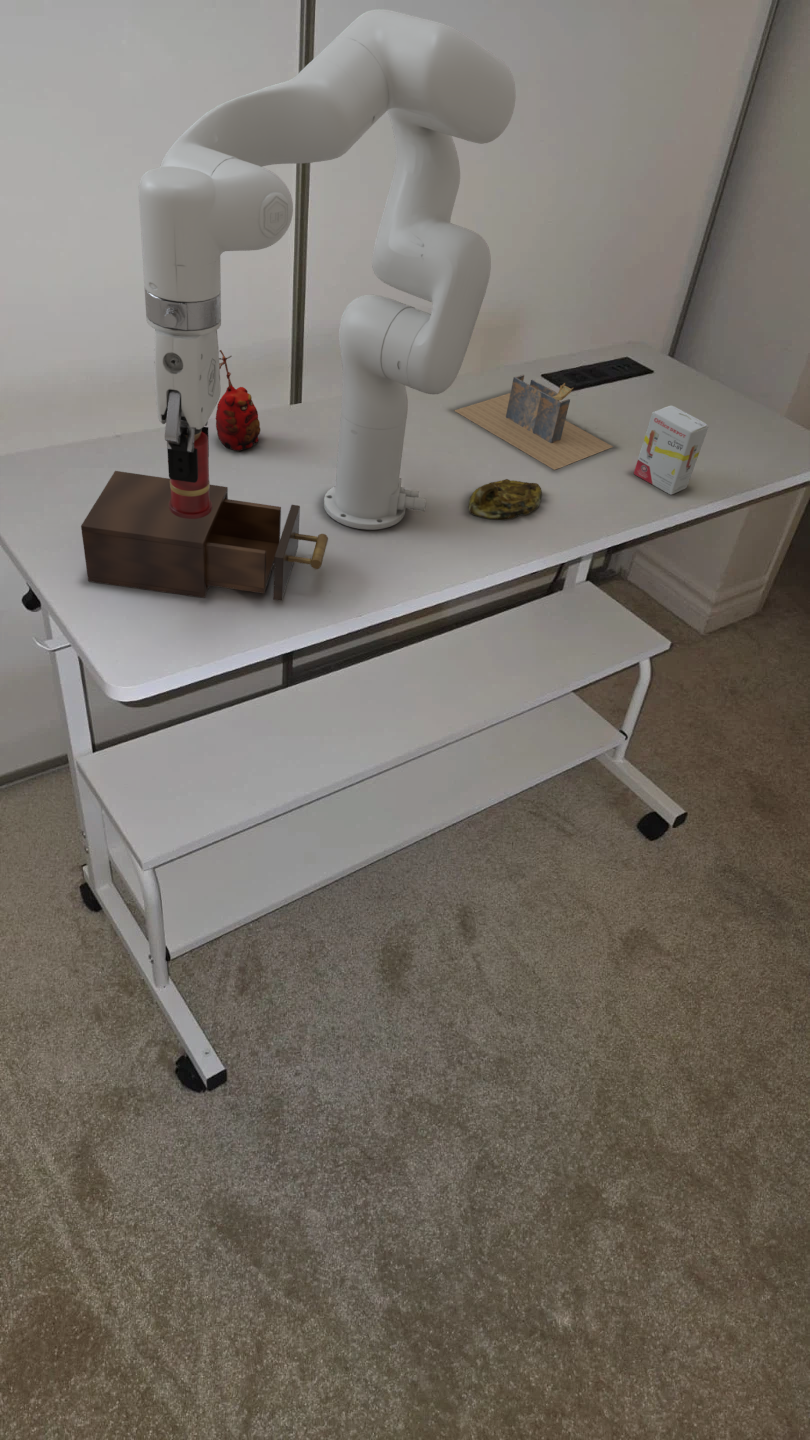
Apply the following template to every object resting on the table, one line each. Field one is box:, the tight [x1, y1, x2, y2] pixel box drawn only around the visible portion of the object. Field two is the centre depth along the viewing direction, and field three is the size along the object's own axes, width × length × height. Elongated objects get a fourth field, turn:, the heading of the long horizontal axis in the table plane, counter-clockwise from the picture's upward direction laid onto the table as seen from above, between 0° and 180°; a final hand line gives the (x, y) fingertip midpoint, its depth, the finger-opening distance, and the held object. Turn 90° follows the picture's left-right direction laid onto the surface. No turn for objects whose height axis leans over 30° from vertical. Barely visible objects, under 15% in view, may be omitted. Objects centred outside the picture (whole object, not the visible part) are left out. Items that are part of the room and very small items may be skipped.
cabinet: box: [80, 470, 229, 599], centre depth 130 cm, size 16×14×9 cm
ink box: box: [633, 405, 709, 496], centre depth 163 cm, size 9×5×12 cm, turn 41°
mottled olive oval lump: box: [468, 478, 543, 521], centre depth 154 cm, size 9×5×15 cm
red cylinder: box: [169, 416, 212, 519], centre depth 110 cm, size 5×5×12 cm
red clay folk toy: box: [215, 349, 261, 452], centre depth 154 cm, size 8×7×15 cm
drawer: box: [205, 498, 329, 602], centre depth 130 cm, size 19×13×7 cm
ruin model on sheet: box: [453, 374, 614, 471], centre depth 172 cm, size 25×16×10 cm, turn 42°
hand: (189, 467), depth 110 cm, fingers closed on red cylinder, 4 cm apart
